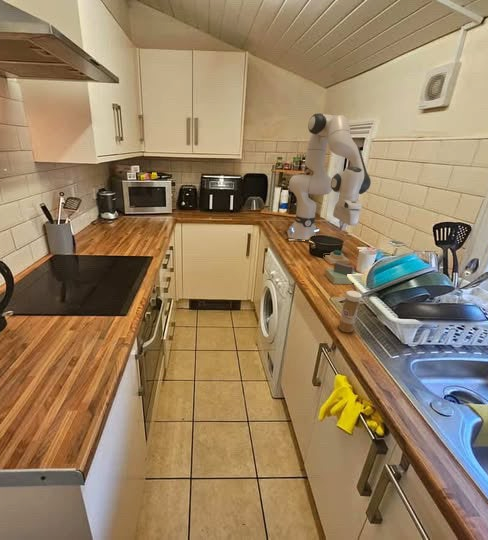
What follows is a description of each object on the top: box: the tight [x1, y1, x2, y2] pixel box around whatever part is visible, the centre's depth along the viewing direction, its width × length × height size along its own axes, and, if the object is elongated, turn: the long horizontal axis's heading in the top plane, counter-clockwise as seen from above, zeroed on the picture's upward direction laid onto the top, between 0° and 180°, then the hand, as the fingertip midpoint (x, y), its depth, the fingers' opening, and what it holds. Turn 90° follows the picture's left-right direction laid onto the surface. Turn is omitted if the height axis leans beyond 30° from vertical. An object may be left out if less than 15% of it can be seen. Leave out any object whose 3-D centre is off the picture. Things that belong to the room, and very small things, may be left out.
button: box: [333, 249, 342, 255], centre depth 156 cm, size 4×4×2 cm
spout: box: [333, 262, 355, 275], centre depth 135 cm, size 8×2×4 cm, turn 47°
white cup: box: [355, 248, 378, 274], centre depth 144 cm, size 8×8×10 cm
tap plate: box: [324, 268, 357, 285], centre depth 136 cm, size 12×12×3 cm
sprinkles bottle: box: [338, 290, 363, 333], centre depth 97 cm, size 5×5×14 cm
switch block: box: [322, 251, 351, 265], centre depth 157 cm, size 10×10×4 cm
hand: (342, 229), depth 151 cm, fingers closed
